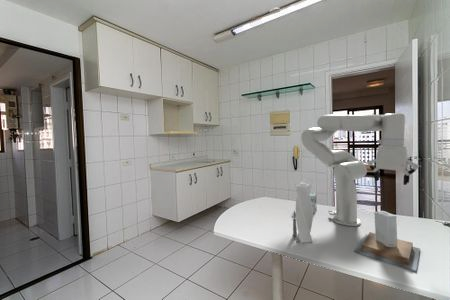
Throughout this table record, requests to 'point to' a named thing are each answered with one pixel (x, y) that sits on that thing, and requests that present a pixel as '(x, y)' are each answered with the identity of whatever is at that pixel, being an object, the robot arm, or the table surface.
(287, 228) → the table surface
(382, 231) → the skincare box
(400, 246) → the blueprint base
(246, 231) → the table surface
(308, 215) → the skyscraper
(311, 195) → the light bulb box
